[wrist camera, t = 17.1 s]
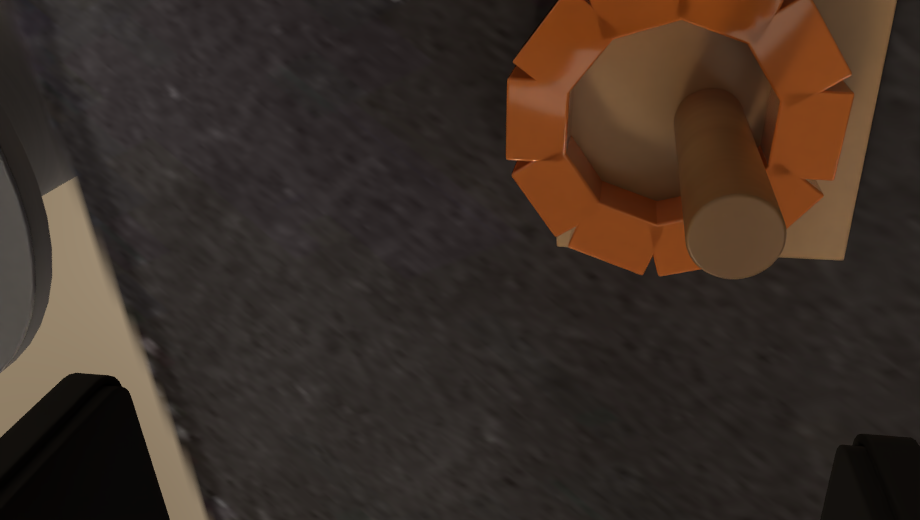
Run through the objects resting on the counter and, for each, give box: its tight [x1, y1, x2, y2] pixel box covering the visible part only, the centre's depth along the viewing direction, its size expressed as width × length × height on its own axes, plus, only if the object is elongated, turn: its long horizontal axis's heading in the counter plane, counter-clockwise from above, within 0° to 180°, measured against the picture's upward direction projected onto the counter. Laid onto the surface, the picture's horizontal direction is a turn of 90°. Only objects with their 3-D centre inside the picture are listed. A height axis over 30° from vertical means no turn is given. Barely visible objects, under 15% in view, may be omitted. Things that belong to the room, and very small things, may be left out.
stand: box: [557, 0, 897, 279], centre depth 20 cm, size 9×9×10 cm
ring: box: [506, 0, 854, 276], centre depth 22 cm, size 9×10×2 cm
